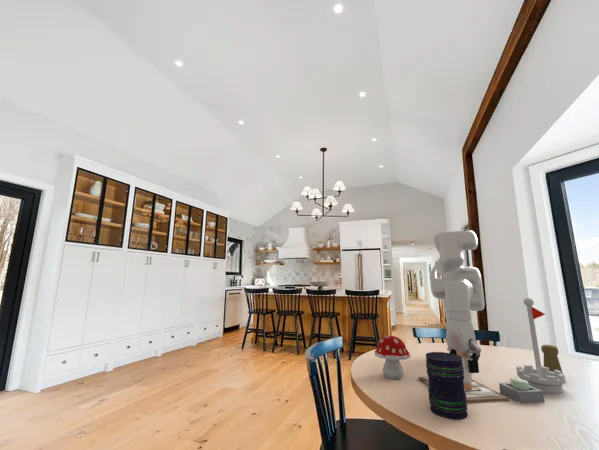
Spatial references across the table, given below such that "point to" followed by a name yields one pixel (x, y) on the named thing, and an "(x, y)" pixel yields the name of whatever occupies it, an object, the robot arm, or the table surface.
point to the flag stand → (540, 375)
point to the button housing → (522, 393)
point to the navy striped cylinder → (446, 385)
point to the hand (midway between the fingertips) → (464, 367)
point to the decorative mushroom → (392, 356)
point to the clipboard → (477, 392)
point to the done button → (519, 384)
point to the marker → (466, 371)
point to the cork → (551, 357)
